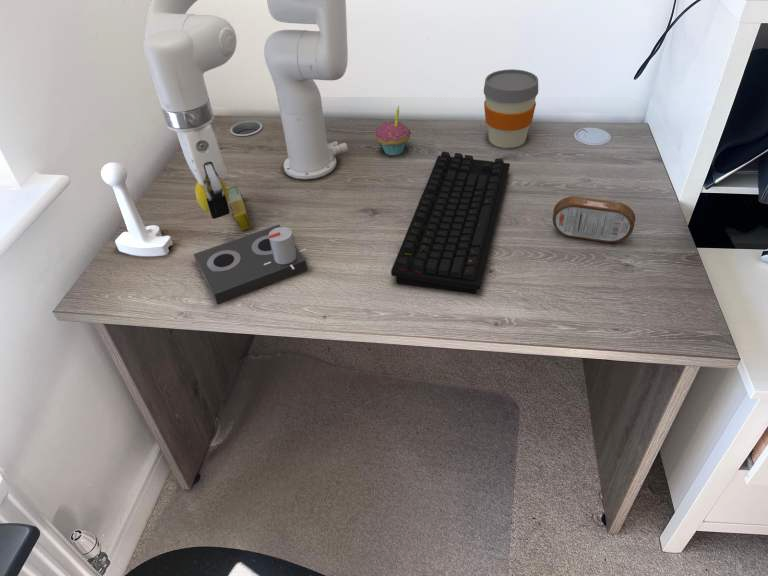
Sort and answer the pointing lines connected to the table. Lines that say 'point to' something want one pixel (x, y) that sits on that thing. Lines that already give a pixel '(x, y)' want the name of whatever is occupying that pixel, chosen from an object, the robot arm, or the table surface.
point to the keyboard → (453, 225)
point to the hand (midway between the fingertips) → (215, 206)
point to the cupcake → (392, 136)
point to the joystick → (133, 219)
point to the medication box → (239, 208)
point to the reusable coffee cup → (509, 106)
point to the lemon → (202, 194)
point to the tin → (593, 219)
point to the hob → (246, 268)
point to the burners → (237, 255)
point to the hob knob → (282, 245)
